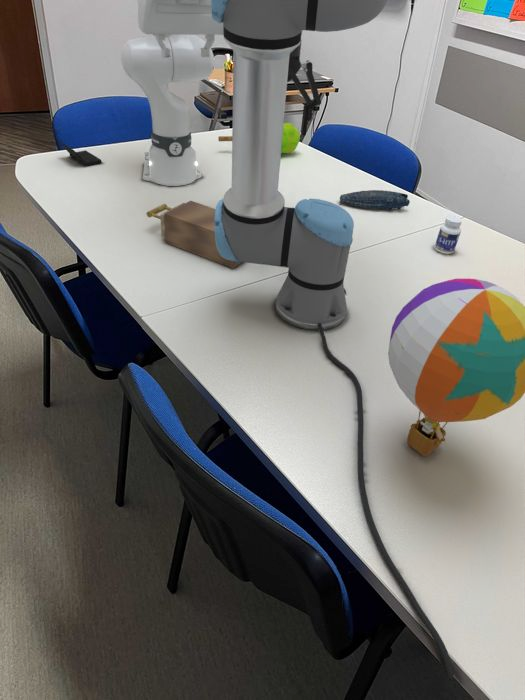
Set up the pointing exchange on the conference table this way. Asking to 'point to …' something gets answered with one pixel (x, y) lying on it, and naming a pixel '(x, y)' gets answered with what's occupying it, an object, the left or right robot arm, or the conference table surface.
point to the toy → (458, 355)
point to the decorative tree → (288, 138)
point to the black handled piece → (82, 156)
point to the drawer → (161, 215)
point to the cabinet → (194, 231)
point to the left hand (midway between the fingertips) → (185, 57)
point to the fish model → (376, 199)
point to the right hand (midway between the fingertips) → (276, 133)
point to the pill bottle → (448, 235)
